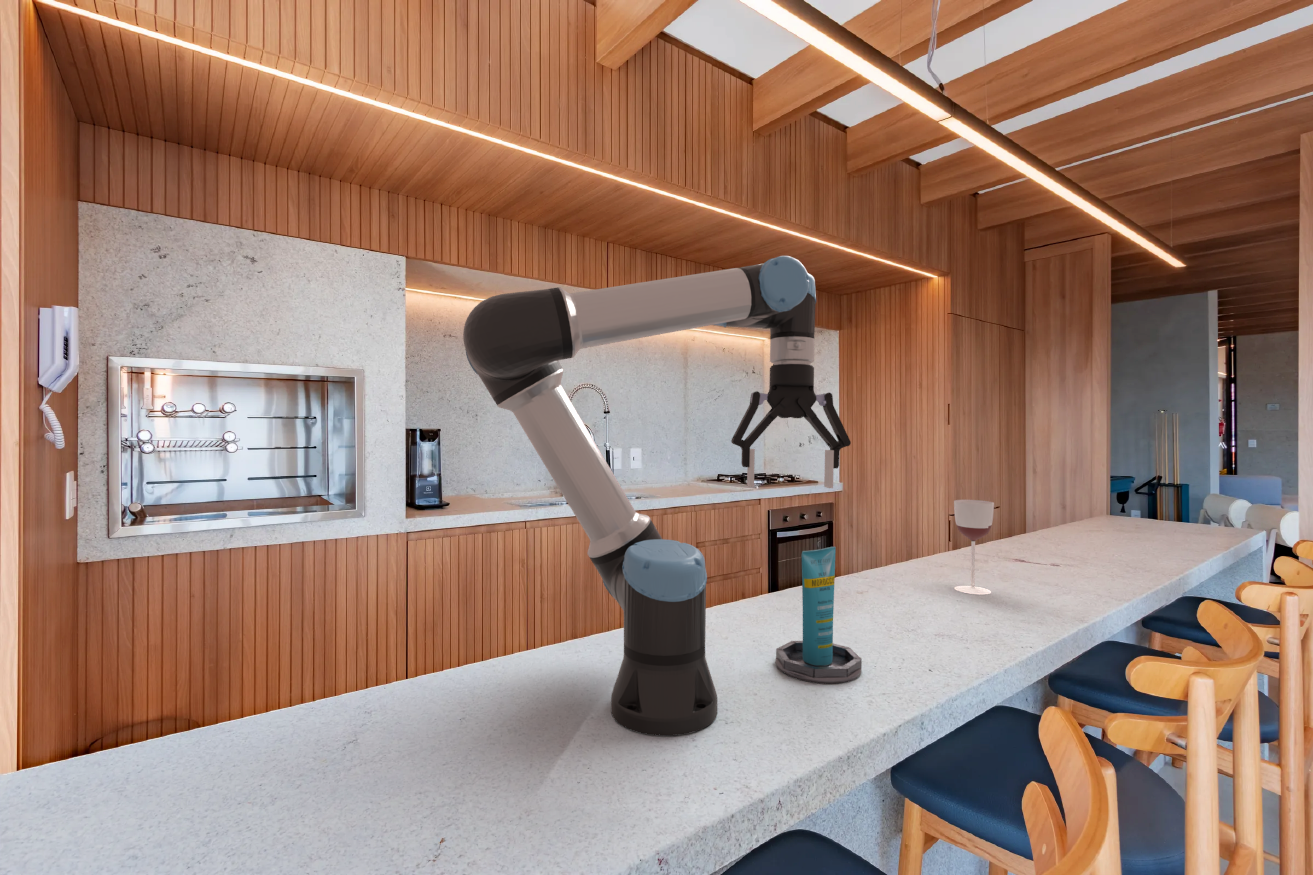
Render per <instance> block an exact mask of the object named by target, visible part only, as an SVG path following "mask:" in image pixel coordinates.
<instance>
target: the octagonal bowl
mask: <svg viewBox="0 0 1313 875" xmlns="http://www.w3.org/2000/svg"><path fill="white" fill-rule="evenodd" d="M775 653H776V654H775V666H776V668H777V669H778V671H780V672H781V673H783V674H784V675H786V676H788V677H790V678H793V679H795V680H798V681H803V682H807V683H813V684H820V685H821V684H822V685H836V684H837V685H838V684H845V683H846V684H847V683H850V682H853V681H855V680H857V679H858V678H859V677H860V676H861V675H862V664H863V663H862V662H863V661H862V657H860V656H859V655H858V654H857V652H856V651H854V650H853V649H852V648H851V647H850V646H845V645H841V644H837V643H834V642H833V656H832V663H831V664H830V665H827V666H815V665H811V664H808V663H806V662H805V661H804V660H803V640H791V641H789V642H787V643H784V644H782V645H781V646H779V647H777V648H776V649H775Z"/></svg>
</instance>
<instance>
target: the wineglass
mask: <svg viewBox="0 0 1313 875" xmlns="http://www.w3.org/2000/svg"><path fill="white" fill-rule="evenodd" d="M953 508H954V510H953V512H954V521H955V525H956V528H957V530H958V531H959V532H960V533H961V534H962V535H963V536H964V537H965V538H967V539H969V540H970V541H971V549H970V551H971V552H970V553H971V554H970V555H971V556H970V585H958V586H954V590H956V591H957V592H960V593H965V594H970V595H980V596H981V595H990V594H992V591H991V590H990V589H987V588H984V587H980V586H975V585H976V583H975V580H976V578H975V577H976V576H975V574H976V572H975V571H976V541H977V540H979V539H982V538H984V537H985V536H987V535H988V534H989V533H990V531H991V529H992V525H993V521H994V520H993V519H994V511H995V502H993V501H990V500H989V501H987V500H979V499H956V500H953Z"/></svg>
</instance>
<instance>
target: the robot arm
mask: <svg viewBox="0 0 1313 875" xmlns="http://www.w3.org/2000/svg"><path fill="white" fill-rule="evenodd" d="M816 294H817V292H816V280H815V277H814V276H813V275H812V274H811V273H808V271H807V269H806V267H805V266H804V264H802V262H801V261H800V260H799V259H797V258H795V257H792V256H789V255H780V256H776V257H774V258H769V259H768V260H767V261H765V262H764V263H760V264H754V265H747V266H742V267H735V268H734V267H733V268H728V269H720V270H715V271H709V272H708V271H707V272H700V273H696V274H695V273H694V274H689V275H683V276H677V277H676V276H675V277H669V278H662V279H655V280H649V281H641V282H636V283H630V284H625V285H624V284H623V285H618V286H617V285H616V286H611V287H604V288H597V289H591V290H585V291H578V292H577V291H576V292H571V293H570V292H568V291H567V290H566V289H563V287H553V288H552V287H551V288H546V289H536V290H528V291H527V290H526V291H517V292H509V293H501V294H500V293H499V294H498V295H493V296H490V297H488V298H486V299H484V300H482V301H480V302H479V303H478V304H477V305H475V306H474V307H473V308H472V310H471V311H470V312H469V314H468V315H467V317H466V320H465V323H464V327H463V336H462V337H463V338H462V339H463V345H464V348H465V349H464V350H465V355H466V359H467V362H468V363H469V365H470V368H471V369H472V370H473V372H474V373H475V374H477V376H479V379H480V380H481V381H482V384H483V385H484V387H485V388H486V390H487V391H488V393H489V394H490V397H491V399H492V400H493V401H494V403H495V404H496V406H497V408H499V409H504V410H508V411H510V412H511V413H513V415H514V416H515V419H516V420H517V422H518V423H519V425H520V426H521V428H522V429H523V431H524V433H525V434H526V436H527V438H528V440H529V441H530V443H531V444H532V446H533V448H534V449H535V451H536V452H537V455H538V457H539V458H540V459H541V461H542V463H543V465H544V467H545V468H546V469H547V471H548V473H549V475H550V476H551V478H552V479H553V480H554V482H555V484H556V486H557V488H558V490H559V491H560V492H561V495H562V496H563V497H564V499H565V502H567V504H568V506H569V507H570V509H571V511H572V512H573V514H574V515H575V517H576V519H577V521H578V523H579V524H580V527H582V529H583V530H584V533H585V534H586V536H587V537H588V539H589V546H588V549H587V556H588V557H589V559H590V560H591V563H593V566H594V567H595V569H596V570H597V572H598V575H599V576H600V577H601V579H602V583H603V585H604V587H605V589H606V590H607V592H608V593H609V595H611V597H612V598H613V599H614V600H615V601H616V603H618V605H619V607H620V608H621V609H622V611H623V658H622V661H621V663H620V664H621V665H620V667H619V670H618V674H617V677H616V680H615V682H614V683H615V684H614V686H613V690H612V692H611V697H610V698H611V699H610V700H611V702H610V703H611V704H610V707H611V709H610V711H611V716H612V718H613V720H615V722H616V723H617V724H618V725H621V726H622V727H623V728H625V729H628V730H630V731H633V732H636V733H638V734H639V733H640V734H643V735H644V734H645V735H649V736H662V737H663V736H664V737H665V736H668V737H669V736H670V737H671V736H681V735H687V734H692V733H694V732H697V731H700V730H702V729H705V728H707V727H708V726H710V725H711V724H712V723H714V721H715V720H716V718H717V715H718V694H717V690H716V688H715V685H714V681H713V678H712V674H711V671H710V668H709V665H708V662H707V657H706V627H707V626H706V614H707V611H706V606H707V605H706V604H707V603H706V602H707V599H706V598H707V589H706V588H707V583H708V581H707V580H708V574H707V569H706V559H705V556H704V555H703V553H702V552H701V551H700V549H699V548H697V547H696V546H694V545H692V544H689V543H687V542H680V540H679V541H678V540H673V539H665V538H662V536H661V534H660V532H659V531H658V529H657V527H656V525H655V524H654V522H653V521H652V518H651V517H650V516H649V515H647V514H645V513H644V514H643V513H638V512H637V511H636V510H635V508H634V507H633V505H632V503H631V502H630V500H629V498H628V497H627V495H626V493H625V491H624V489H623V488H622V486H621V485H620V483H619V481H618V479H617V478H616V476H615V475H614V472H613V470H612V469H611V467H610V465H609V464H608V462H607V461H606V459H605V458H604V456H603V454H602V452H601V450H600V449H599V447H598V445H597V443H596V442H595V440H594V439H593V437H592V435H591V434H590V432H589V429H588V428H587V427H586V425H585V423H584V421H583V420H582V418H581V416H580V415H579V413H578V411H577V409H576V408H575V406H574V404H573V403H572V401H571V399H570V398H569V396H568V394H567V393H566V391H565V389H564V387H563V385H562V378H563V374H564V368H563V366H562V365H561V363H560V361H561V360H562V361H563V360H566V359H573V358H575V356H576V355H577V354H578V353H579V351H581V350H582V349H587V348H593V347H597V346H598V347H599V346H603V345H609V344H615V343H620V342H625V341H630V340H631V341H632V340H637V339H643V338H648V337H653V336H660V335H664V334H670V333H675V332H680V331H686V330H692V329H697V328H701V327H702V328H703V327H708V326H717V327H718V326H719V327H723V328H728V327H730V328H752V329H753V328H754V329H765V330H767V329H768V330H769V334H770V335H769V339H770V344H769V345H770V346H769V348H770V350H769V362H770V363H771V364H772V365H771V366H770V367H769V386H768V387H769V389H768V392H767V393H762V392H760V391H758V390H756V391H753V392H752V393H751V394H750V400H749V401H750V402H749V405H748V407H747V409H746V411H745V413H744V415H743V417H742V419H741V421H740V422H739V424H738V426H737V428H736V430H735V432H734V434H733V436H732V438H731V440H730V442H731V444H732V445H734V446H735V445H736V446H737V447H740V448H741V466H742V467H743V468H747V470H746V472H747V476H746V477H747V478H746V484H747V485H746V486H747V487H749V488H754V487H755V452H756V450H755V449H756V448H751V447H752V446H753V444H754V443H755V442H756V441H757V440H758V439H759V437H760V436H761V435H762V434H763V433H764V432H765V431H766V429H767V428H768V427H769V426H770V425H771V424H772V423H773V421H775V420H776V418H780V419H788V418H792V419H802V418H804V419H805V420H806V421H807V422H808V424H810V425H811V427H812V428H813V430H814V431H816V433H817V434H818V435H819V437H820V438H821V439H822V440H823V441H824V443H825V444H826V445H827V446H828V447H829V449H825V450H824V476H823V477H824V484H823V485H824V486H823V487H824V488H827V489H834V469H839V468H840V467H839V466H840V451H841V449H843V448H846V447H850V446H851V440H850V438H849V436H848V433H847V431H846V429H845V427H844V424H843V423H842V420H841V418H840V416H839V414H838V412H837V411H836V408H835V406H834V400H833V399H834V398H833V394H832V393H831V392H825V393H820V394H816V393H815V390H814V389H815V386H814V385H815V367H814V366H813V365H811V364H812V363H814V362H815V331H816V330H815V329H816V304H817V296H816ZM765 401H766V402H767V404H768V405H769V407H771V408H770V410H768V412H767V413H766V414H765V416H764V417H763V418H762V420H760V422H759V423H758V424H757V425H756V426H755V427H754V428H753V429H752V431H751V432H749V434H748V435H747V437H745V439H744V440H743V437H744V435H745V433H746V431H747V430H748V429H749V426H750V424H751V422H752V421H753V418H754V417H755V414H756V412H757V411H758V408H759V406H761V405H763V403H764V402H765ZM816 402H818V405H819V406H821V407H822V409H823V412H824V413H825V416H826V418H827V420H828V422H829V424H830V427H831V428H832V431H833V433H834V435H835V437H836V438H835V437H834V436H833V434H832V433H831V432H830V430H828V428H827V427H826V426H825V425H824V424H823V421H821V420H820V419H819V418H820V417H818V415H817V414H816V412H815V411H814V409H812V407H813V405H815V403H816Z"/></svg>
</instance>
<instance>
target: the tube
mask: <svg viewBox="0 0 1313 875" xmlns="http://www.w3.org/2000/svg"><path fill="white" fill-rule="evenodd" d="M836 548H837V547H836V546H830V547H825V548H821V549H820V548H819V549H812V550H802V551H801V581H802V582H801V583H802V584H801V585H802V587H801V589H802V596H801V597H802V600H801V601H802V641H803V660H804V661H805V662H806V663H808V664H811V665H815V666H827V665H830V664H831V663H832V656H833V643H834V642H833V640H834V639H833V637H834V609H835V608H834V604H835V600H834V599H835V574H836Z"/></svg>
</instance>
